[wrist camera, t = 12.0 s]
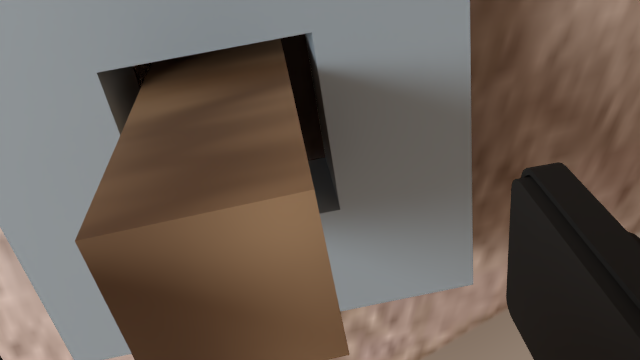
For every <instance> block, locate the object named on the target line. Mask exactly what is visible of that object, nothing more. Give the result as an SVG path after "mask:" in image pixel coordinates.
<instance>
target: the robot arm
mask: <svg viewBox="0 0 640 360" xmlns="http://www.w3.org/2000/svg"><path fill="white" fill-rule="evenodd" d="M506 298H507V305H508V309H509V312H510V315H511V317H512V319H513V321H514V323H515V325H516V327H517V329H518V330H519V332H520V334H521V336H522V338H523V340H524V342H525V344H526V345H527V347H528V349H529V351H530V353H531V355H532V357H533V359H534V360H640V238H639V237H637V236H636V235H635V234H633V233H629V232H627V231H626V230H625V229H624V228H623V227H622V226H621V224H620V223H619V222H618V221H617V220H616V219H615V218H614V217H613V216H612V215H611V214H610V213H609V212H608V211H607V210H606V208H605V207H604V206H603V205H602V204H601V203H600V202H599V201H598V200H597V199H596V198H595V197H594V196H593V195H592V194H591V192H590V191H589V190H588V189H587V188H586V187H585V186H584V185H583V184H582V183H581V182H580V181H579V180H578V179H577V178H576V176H575V175H574V174H573V173H572V172H571V171H570V170H569V169H568V168H567V167H566V166H565V165H564V164H562V163H553V164H547V165H542V166H536V167H531V168H526V169H525V170H523V172H522V176H521V178H519V179H515V180H513V183H512V188H511V209H510V230H509V251H508V272H507V293H506ZM0 360H3V359H2V358H1V356H0Z"/></svg>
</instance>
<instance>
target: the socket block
mask: <svg viewBox="0 0 640 360" xmlns="http://www.w3.org/2000/svg"><path fill="white" fill-rule="evenodd" d="M300 34H305V39H306V45H307V51H308V57H309V63H310V69H311V75H312V81H313V87H314V93H315V99H316V105H317V111H318V117H319V122H320V128H321V134H322V140H323V146H324V152H325V158H320V159H315V160H310V161H308V163H309V168H310V172H311V177H312V181H313V185H314V190H315V195H316V199H317V204H318V209H319V214H320V218H321V223H322V228H323V232H324V237H325V242H326V247H327V251H328V256H329V261H330V265H331V270H332V275H333V280H334V284H335V289H336V294H337V299H338V303H339V308H340V311H345V310H350V309H355V308H360V307H365V306H369V305H374V304H379V303H384V302H389V301H394V300H399V299H404V298H409V297H414V296H419V295H424V294H429V293H433V292H438V291H443V290H448V289H453V288H458V287H463V286H468V285H473V229H472V139H471V50H470V0H0V227H1V229H2V231H3V233H4V235H5V236H6V238H7V240H8V242H9V244H10V246H11V247H12V249H13V251H14V253H15V255H16V256H17V258H18V260H19V262H20V264H21V265H22V267H23V269H24V271H25V273H26V274H27V276H28V278H29V280H30V282H31V283H32V285H33V287H34V289H35V291H36V292H37V294H38V296H39V298H40V300H41V301H42V303H43V305H44V307H45V309H46V310H47V312H48V314H49V316H50V318H51V319H52V321H53V323H54V325H55V327H56V329H57V330H58V332H59V334H60V336H61V338H62V339H63V341H64V343H65V345H66V347H67V348H68V350H69V352H70V354H71V356H72V357H73V359H74V360H104V359H109V358H114V357H118V356H123V355H128V354H132V353H131V351H130V349H129V347H128V345H127V343H126V341H125V339H124V337H123V335H122V333H121V331H120V329H119V328H118V326H117V324H116V322H115V320H114V318H113V316H112V314H111V312H110V310H109V308H108V306H107V304H106V302H105V300H104V298H103V296H102V294H101V292H100V290H99V288H98V286H97V284H96V282H95V280H94V278H93V276H92V274H91V272H90V270H89V268H88V266H87V264H86V262H85V260H84V258H83V256H82V254H81V252H80V251H79V249H78V247H77V245H76V243H75V239H76V237H77V235H78V232H79V230H80V228H81V225H82V223H83V221H84V218H85V216H86V214H87V212H88V209H89V207H90V205H91V202H92V200H93V198H94V195H95V193H96V191H97V188H98V186H99V184H100V181H101V179H102V177H103V174H104V172H105V170H106V167H107V165H108V163H109V161H110V158H111V156H112V154H113V151H114V149H115V147H116V144H117V142H118V140H119V137H120V135H121V133H122V130H123V128H124V126H125V123H126V121H127V119H128V116H129V114H130V112H131V110H132V107H133V105H134V103H135V100H136V98H137V96H138V93H139V91H140V88H139V85H138V82H137V79H136V76H135V73H134V70H133V67H132V66H135V65H140V64H146V63H151V62H156V61H162V60H167V59H172V58H178V57H183V56H188V55H194V54H199V53H204V52H210V51H215V50H220V49H226V48H231V47H236V46H242V45H247V44H252V43H258V42H263V41H268V40H274V39H279V38H284V37H290V36H295V35H300Z"/></svg>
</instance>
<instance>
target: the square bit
mask: <svg viewBox="0 0 640 360" xmlns="http://www.w3.org/2000/svg"><path fill="white" fill-rule="evenodd" d="M75 243H76V245H77V247H78V249H79V251H80V252H81V254H82V256H83V258H84V260H85V262H86V264H87V266H88V268H89V270H90V272H91V274H92V276H93V278H94V280H95V282H96V284H97V286H98V288H99V290H100V292H101V294H102V296H103V298H104V300H105V302H106V304H107V306H108V308H109V310H110V312H111V314H112V316H113V318H114V320H115V322H116V324H117V326H118V328H119V329H120V331H121V333H122V335H123V337H124V339H125V341H126V343H127V345H128V347H129V349H130V351H131V353H132V355H133V357H134V359H135V360H328V359H333V358H337V357H342V356H346V355H349V350H348V346H347V341H346V336H345V332H344V327H343V322H342V317H341V313H340V308H339V303H338V299H337V294H336V289H335V284H334V280H333V275H332V270H331V265H330V261H329V256H328V251H327V247H326V242H325V237H324V232H323V228H322V223H321V218H320V214H319V209H318V204H317V199H316V195H315V190H314V185H313V181H312V177H311V172H310V168H309V163H308V159H307V154H306V150H305V145H304V141H303V137H302V132H301V128H300V123H299V119H298V114H297V110H296V105H295V101H294V97H293V92H292V88H291V83H290V79H289V74H288V70H287V65H286V61H285V57H284V52H283V48H282V43H281V39H280V38H279V39H274V40H268V41H263V42H258V43H252V44H247V45H242V46H236V47H231V48H226V49H220V50H215V51H210V52H204V53H199V54H194V55H188V56H183V57H178V58H172V59H167V60H162V61H156V62H152V63H151V65H150V68H149V70H148V72H147V75H146V77H145V79H144V82H143V84H142V86H141V89H140V91H139V93H138V96H137V98H136V100H135V103H134V105H133V107H132V110H131V112H130V114H129V116H128V119H127V121H126V123H125V126H124V128H123V130H122V133H121V135H120V137H119V140H118V142H117V144H116V147H115V149H114V151H113V154H112V156H111V158H110V161H109V163H108V165H107V167H106V170H105V172H104V174H103V177H102V179H101V181H100V184H99V186H98V188H97V191H96V193H95V195H94V198H93V200H92V202H91V205H90V207H89V209H88V212H87V214H86V216H85V218H84V221H83V223H82V225H81V228H80V230H79V232H78V235H77V237H76V239H75Z"/></svg>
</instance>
